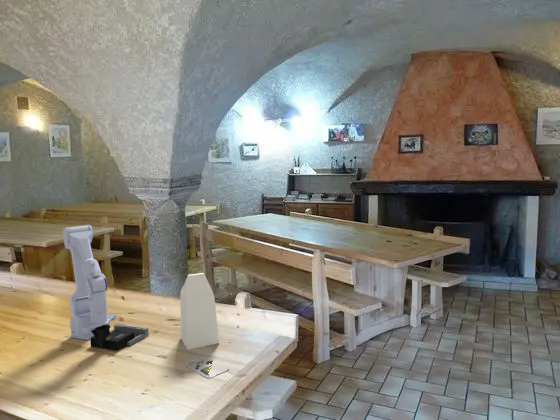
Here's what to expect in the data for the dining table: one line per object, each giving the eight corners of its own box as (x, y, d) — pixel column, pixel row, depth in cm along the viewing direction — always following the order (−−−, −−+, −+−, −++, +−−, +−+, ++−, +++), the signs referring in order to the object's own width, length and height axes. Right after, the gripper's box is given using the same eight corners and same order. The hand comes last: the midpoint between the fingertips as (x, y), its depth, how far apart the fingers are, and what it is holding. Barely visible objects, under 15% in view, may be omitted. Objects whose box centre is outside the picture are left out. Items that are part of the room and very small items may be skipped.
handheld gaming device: (204, 354, 164) (230, 368, 153) (204, 356, 164) (230, 370, 153) (183, 363, 158) (208, 378, 147) (183, 365, 158) (208, 380, 147)
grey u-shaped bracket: (97, 341, 180) (97, 332, 179) (117, 330, 190) (117, 322, 190) (129, 346, 174) (129, 337, 174) (148, 335, 184) (148, 327, 184)
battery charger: (135, 342, 179) (134, 332, 178) (118, 352, 170) (117, 341, 170) (109, 337, 184) (108, 328, 183) (90, 347, 175) (89, 337, 174)
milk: (187, 349, 170) (183, 280, 166) (180, 338, 180) (176, 272, 177) (219, 343, 174) (215, 275, 171) (211, 332, 185) (207, 268, 182)
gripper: (92, 317, 161) (95, 354, 163) (121, 304, 175) (123, 338, 176) (76, 315, 164) (80, 352, 166) (106, 302, 177) (109, 336, 179)
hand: (101, 345), depth 171 cm, fingers closed
